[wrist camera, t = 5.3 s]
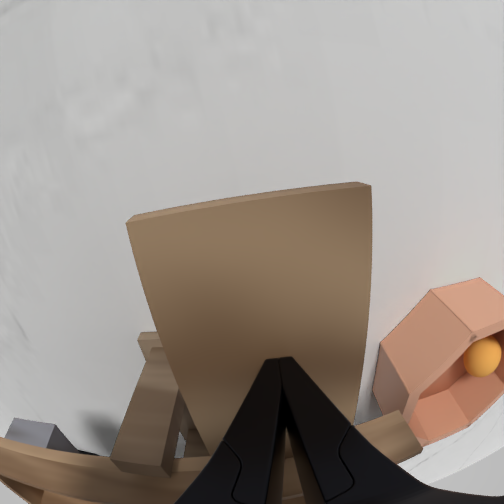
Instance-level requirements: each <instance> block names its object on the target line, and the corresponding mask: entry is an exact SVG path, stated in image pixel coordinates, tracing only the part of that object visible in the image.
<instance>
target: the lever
mask: <svg viewBox="0 0 504 504" xmlns="http://www.w3.org/2000/svg"><path fill="white" fill-rule="evenodd" d="M126 226H127V231H128V235H129V239H130V243H131V247H132V250H133V254H134V258H135V262H136V265H137V269H138V272H139V276H140V279H141V283H142V286H143V289H144V293H145V296H146V299H147V302H148V305H149V309H150V312H151V315H152V318H153V321H154V324H155V326H156V329H157V332H158V335H159V338H160V341H161V343H162V346H163V349H164V352H165V354H166V357H167V360H168V362H169V365H170V367H171V370H172V372H173V375H174V377H175V380H176V382H177V385H178V387H179V389H180V392H181V394H182V396H183V399H184V401H185V403H186V406H187V408H188V410H189V412H190V415H191V417H192V419H193V421H194V423H195V425H196V428H197V430H198V432H199V434H200V436H201V438H202V440H203V442H204V444H205V446H206V448H207V450H208V452H209V454H210V456H205V457H191V458H174V462H173V467H172V473H171V478H164V477H154V476H146V475H139V474H133V473H127V472H122V471H121V470H120V469H119V468H118V467H117V466H116V465H115V464H114V463H113V462H112V461H111V460H110V457H104V456H94V455H85V454H81V453H80V452H79V451H78V450H77V449H76V448H75V447H74V446H73V445H72V444H71V442H70V441H69V440H68V439H67V438H66V437H65V436H64V434H63V433H62V432H61V431H60V430H59V428H58V427H57V426H56V425H55V424H50V423H42V422H36V421H30V420H24V419H19V418H14V419H13V421H12V423H11V425H10V427H9V429H8V431H7V434H6V436H5V438H2V437H0V481H1V482H2V483H3V484H4V485H6V486H7V487H8V488H10V490H12V491H13V492H14V493H16V494H17V495H18V496H19V497H21V498H22V499H23V500H25V501H26V502H27V503H29V504H174V503H175V501H176V500H177V499H178V498H179V497H180V496H181V495H182V494H183V492H184V491H185V490H186V489H187V488H188V487H189V485H190V484H191V483H192V482H193V481H194V480H195V478H196V477H197V476H198V475H199V473H200V472H201V471H202V469H203V468H204V467H205V466H206V464H207V463H208V461H209V460H210V458H211V457H212V455H213V453H214V452H215V450H216V449H217V447H218V445H219V443H220V442H221V441H223V440H222V438H223V437H224V435H225V433H226V431H227V430H228V428H229V426H230V424H231V423H232V421H233V419H234V417H235V415H236V414H237V412H238V410H239V408H240V406H241V404H242V403H243V401H244V399H245V397H246V395H247V393H248V391H249V390H250V388H251V386H252V384H253V382H254V380H255V378H256V376H257V374H258V372H259V370H260V368H261V367H262V365H263V363H264V361H265V360H266V359H270V358H280V357H287V356H292V357H293V358H294V359H295V360H296V361H297V362H298V364H299V365H300V366H301V367H302V368H303V369H304V370H305V372H306V373H307V374H308V375H309V376H310V377H311V379H312V380H313V381H314V382H315V383H316V384H317V385H318V387H319V388H320V389H321V390H322V391H323V392H324V393H325V394H326V396H327V397H328V398H329V399H330V400H331V401H332V402H333V403H334V405H335V406H336V407H337V408H338V409H339V410H340V411H341V412H342V413H343V415H344V416H345V417H346V418H347V419H348V420H349V421H350V422H351V424H352V425H353V422H354V417H355V412H356V407H357V401H358V396H359V390H360V384H361V377H362V370H363V363H364V355H365V347H366V338H367V328H368V317H369V305H370V290H371V269H372V193H371V185H367V184H364V183H360V182H348V183H338V184H329V185H320V186H311V187H303V188H295V189H287V190H280V191H272V192H265V193H258V194H251V195H244V196H238V197H231V198H225V199H219V200H213V201H207V202H201V203H195V204H190V205H184V206H179V207H173V208H168V209H163V210H158V211H153V212H148V213H143V214H138V215H134V216H133V217H132V218H130V219H129V220H128V221H127V222H126ZM355 428H356V429H357V430H358V431H359V432H360V433H361V434H362V435H363V436H364V437H365V438H366V439H367V440H368V441H369V442H370V443H371V444H372V445H373V446H374V447H376V448H377V449H378V450H379V451H380V452H382V453H383V454H384V455H385V456H386V457H388V458H389V459H390V460H392V461H393V462H394V463H396V464H399V463H401V462H403V461H405V460H407V459H410V458H412V457H414V456H416V455H418V454H420V453H421V452H422V450H423V448H422V446H421V444H420V443H419V441H418V440H417V438H416V436H415V435H414V433H413V432H412V430H411V429H410V427H409V425H408V424H407V422H406V421H405V419H404V418H403V416H402V414H401V413H400V411H399V410H397V411H394V412H392V413H389V414H387V415H384V416H381V417H379V418H376V419H373V420H371V421H368V422H365V423H362V424H359V425H356V426H355ZM282 504H306V502H305V499H304V495H303V491H302V487H301V483H300V480H299V476H298V472H297V468H296V464H295V460H294V456H293V453H292V449H291V445H290V441H289V437H288V433H287V429H286V442H285V462H284V479H283V494H282Z"/></svg>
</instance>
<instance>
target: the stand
mask: <svg viewBox="0 0 504 504" xmlns="http://www.w3.org/2000/svg"><path fill="white" fill-rule="evenodd" d="M138 343H139V345H140V348H141V350H142V353H143V355H144V357H145V360H146V363H145V365H144V368H143V370H142V373H141V375H140V378H139V380H138V383H137V386H136V388H135V391H134V393H133V396H132V398H131V401H130V404H129V406H128V409H127V412H126V414H125V417H124V420H123V422H122V425H121V428H120V431H119V434H118V436H117V439H116V442H115V445H114V448H113V451H112V454H111V456H110V460H111V461H112V462H113V463H114V464H115V465H116V466H117V467H118V468H119V469H120V470H121V471H122V472H127V473H133V474H139V475H146V476H154V477H164V478H171V473H172V467H173V462H174V456H175V451H176V446H177V440H178V435H179V430H180V432H181V434H182V436H183V437H184V439H185V440H186V446H185V452H184V458H191V457H205V456H210V454H209V452H208V450H207V448H206V446H205V444H204V442H203V440H202V438H201V436H200V434H199V432H198V430H197V428H196V425H195V423H194V421H193V419H192V417H191V415H190V412H189V410H188V408H187V406H186V403H185V401H184V399H183V396H182V394H181V392H180V389H179V387H178V385H177V382H176V380H175V377H174V375H173V372H172V370H171V367H170V365H169V362H168V360H167V357H166V354H165V352H164V349H163V346H162V343H161V341H160V338H159V335H158V332H141V334H140V335H139V338H138Z"/></svg>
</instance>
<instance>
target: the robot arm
mask: <svg viewBox="0 0 504 504" xmlns="http://www.w3.org/2000/svg"><path fill="white" fill-rule="evenodd" d="M286 429H287V433H288V437H289V441H290V445H291V449H292V453H293V456H294V460H295V464H296V468H297V472H298V476H299V480H300V483H301V487H302V491H303V495H304V499H305V502H306V504H504V496H497V497H496V496H482V495H474V494H466V493H459V492H453V491H448V490H442V489H437V488H434V487H431V486H428V485H426V484H424V483H422V482H420V481H419V480H417V479H416V478H414V477H413V476H412V475H410V474H409V473H408V472H406V471H405V470H404V469H402V468H401V467H400V466H398V465H397V464H396V463H394V462H393V461H392V460H390V459H389V458H388V457H386V456H385V455H384V454H383V453H382V452H380V451H379V450H378V449H377V448H376V447H374V446H373V445H372V444H371V443H370V442H369V441H368V440H367V439H366V438H365V437H364V436H363V435H362V434H361V433H360V432H359V431H358V430H357V429H356V428H355V426H354V425H352V424H351V422H350V421H349V420H348V419H347V418H346V417H345V416H344V415H343V413H342V412H341V411H340V410H339V409H338V408H337V407H336V406H335V405H334V403H333V402H332V401H331V400H330V399H329V398H328V397H327V396H326V394H325V393H324V392H323V391H322V390H321V389H320V388H319V387H318V385H317V384H316V383H315V382H314V381H313V380H312V379H311V377H310V376H309V375H308V374H307V373H306V372H305V370H304V369H303V368H302V367H301V366H300V365H299V364H298V362H297V361H296V360H295V359H294V358H293V357H292V356H287V357H280V358H270V359H266V360H265V361H264V363H263V365H262V367H261V368H260V370H259V372H258V374H257V376H256V378H255V380H254V382H253V384H252V386H251V388H250V390H249V391H248V393H247V395H246V397H245V399H244V401H243V403H242V404H241V406H240V408H239V410H238V412H237V414H236V415H235V417H234V419H233V421H232V423H231V424H230V426H229V428H228V430H227V431H226V433H225V435H224V437H223V438H222V440H223V441H221V442H220V443H219V445H218V447H217V449H216V450H215V452H214V453H213V455H212V457H211V458H210V460H209V461H208V463H207V464H206V466H205V467H204V468H203V469H202V471H201V472H200V473H199V475H198V476H197V477H196V478H195V480H194V481H193V482H192V483H191V484H190V485H189V487H188V488H187V489H186V490H185V491H184V492H183V494H182V495H181V496H180V497H179V498H178V499H177V500H176V501H175V503H174V504H282V494H283V479H284V462H285V442H286ZM79 452H80V453H81V454H85V455H94V456H97V455H95V454H91V453H87V452H82V451H79Z"/></svg>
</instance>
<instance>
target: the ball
mask: <svg viewBox="0 0 504 504" xmlns="http://www.w3.org/2000/svg"><path fill="white" fill-rule="evenodd" d="M500 359H501V347H500V344H499V342H498V341H497V339H496V338H495V337H493V336H491V335H489V336H487V337H484V338H482V339H480V340H477V341H475V342H473V343H472V344H471V345H470V346H469V347H468V348H467V349H466V350H465V352H464V357H463V361H464V366H465V368H466V370H467V372H468V373H469V374H470V375H472V376H474V377H485V376H488V375H490V374H491V373H492V372H493V371H494V370H495V369H496V368H497V366H498V364H499V362H500Z"/></svg>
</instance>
